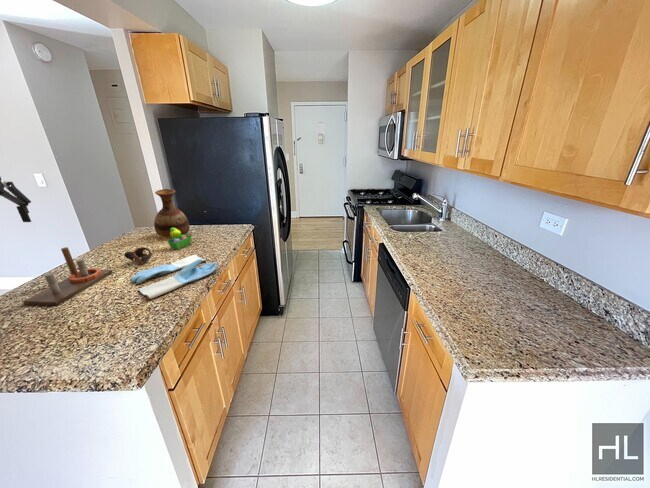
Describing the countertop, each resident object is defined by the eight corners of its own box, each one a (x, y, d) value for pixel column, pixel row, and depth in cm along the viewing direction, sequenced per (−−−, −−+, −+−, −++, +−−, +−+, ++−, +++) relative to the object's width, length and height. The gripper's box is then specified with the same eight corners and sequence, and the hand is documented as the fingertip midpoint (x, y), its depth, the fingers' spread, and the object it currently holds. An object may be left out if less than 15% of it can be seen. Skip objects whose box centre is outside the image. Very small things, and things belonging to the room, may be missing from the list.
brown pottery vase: (156, 242, 158) (144, 193, 147) (157, 232, 174) (146, 188, 163) (192, 236, 167) (182, 190, 156) (189, 228, 183) (180, 185, 172)
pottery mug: (153, 256, 140) (153, 245, 135) (151, 269, 134) (151, 259, 129) (126, 254, 134) (125, 244, 129) (122, 269, 129) (121, 258, 123)
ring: (61, 282, 111) (49, 253, 106) (84, 270, 121) (73, 243, 116) (86, 282, 110) (75, 253, 105) (107, 270, 120) (98, 244, 115)
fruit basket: (177, 250, 146) (173, 231, 142) (166, 248, 149) (161, 230, 145) (193, 243, 156) (190, 226, 152) (183, 241, 159) (179, 224, 155)
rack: (24, 304, 98) (13, 282, 95) (86, 272, 122) (78, 253, 119) (57, 305, 98) (47, 283, 94) (112, 272, 122) (106, 254, 118)
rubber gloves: (124, 279, 116) (120, 266, 114) (195, 255, 140) (193, 244, 138) (150, 300, 101) (145, 286, 98) (224, 269, 125) (222, 257, 122)
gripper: (-59, 174, 81) (-25, 238, 89) (29, 167, 104) (50, 218, 112) (-82, 174, 81) (-46, 238, 89) (11, 167, 104) (33, 217, 112)
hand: (7, 227), depth 100 cm, fingers open, 13 cm apart
